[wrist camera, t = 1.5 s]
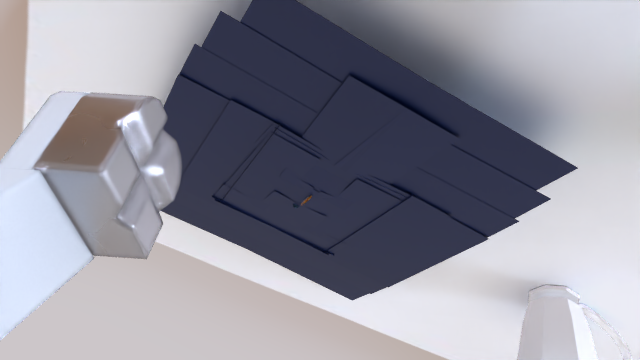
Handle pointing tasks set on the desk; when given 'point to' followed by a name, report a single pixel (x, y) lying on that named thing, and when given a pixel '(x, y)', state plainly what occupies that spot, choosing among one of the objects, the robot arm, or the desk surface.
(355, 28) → the desk surface
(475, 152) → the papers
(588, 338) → the cup
